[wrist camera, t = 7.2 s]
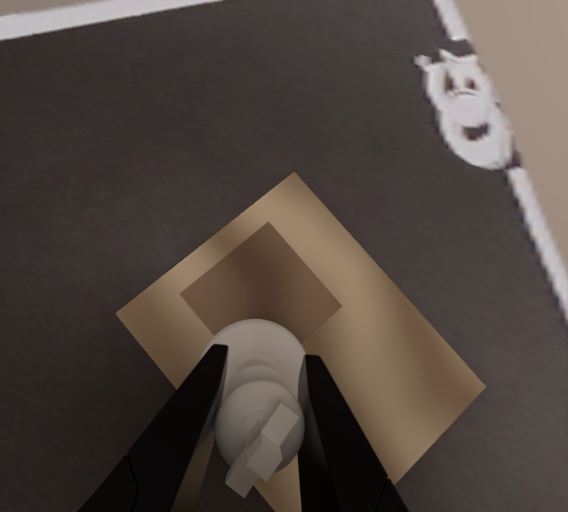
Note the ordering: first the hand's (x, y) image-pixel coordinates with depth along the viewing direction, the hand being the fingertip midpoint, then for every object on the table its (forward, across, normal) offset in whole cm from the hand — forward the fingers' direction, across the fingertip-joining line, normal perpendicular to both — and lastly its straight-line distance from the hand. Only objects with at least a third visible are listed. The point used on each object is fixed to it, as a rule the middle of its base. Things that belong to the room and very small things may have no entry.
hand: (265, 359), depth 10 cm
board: (+9, -3, +9) cm, 13 cm away
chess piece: (+4, 0, +6) cm, 7 cm away
